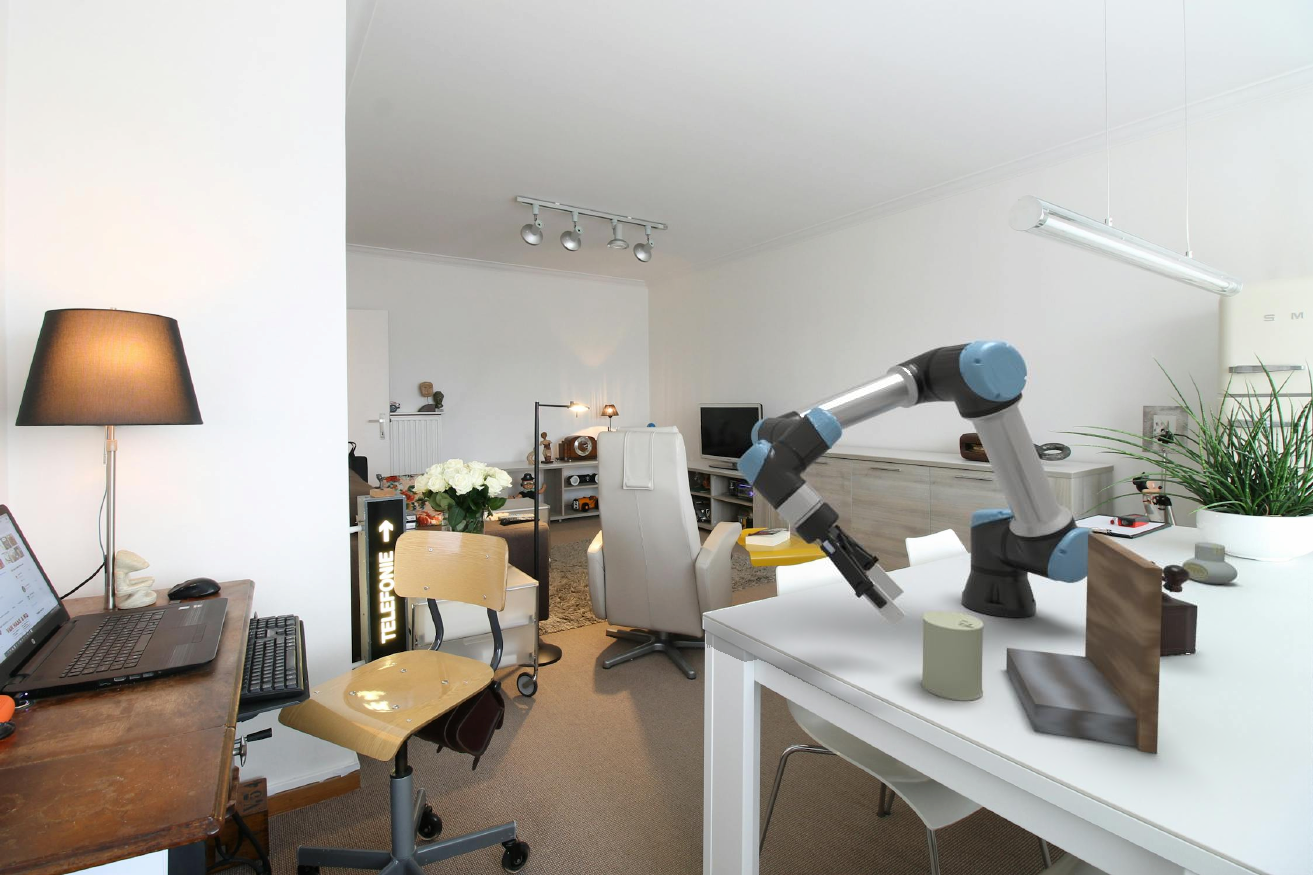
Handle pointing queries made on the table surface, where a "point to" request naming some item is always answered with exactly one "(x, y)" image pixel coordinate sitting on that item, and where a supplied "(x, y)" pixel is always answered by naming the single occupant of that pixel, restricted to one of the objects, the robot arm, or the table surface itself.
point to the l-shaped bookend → (1102, 658)
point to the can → (952, 655)
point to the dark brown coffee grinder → (1177, 615)
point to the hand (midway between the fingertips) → (898, 607)
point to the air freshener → (1210, 564)
